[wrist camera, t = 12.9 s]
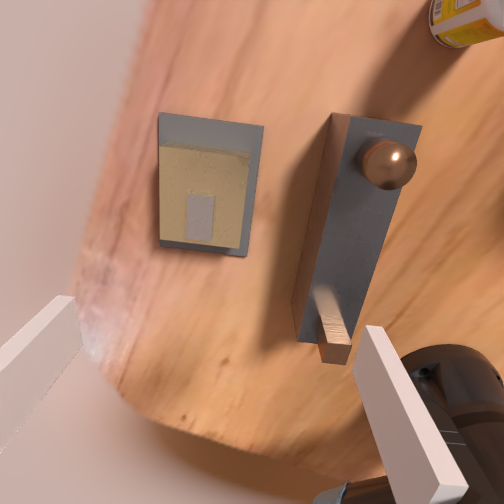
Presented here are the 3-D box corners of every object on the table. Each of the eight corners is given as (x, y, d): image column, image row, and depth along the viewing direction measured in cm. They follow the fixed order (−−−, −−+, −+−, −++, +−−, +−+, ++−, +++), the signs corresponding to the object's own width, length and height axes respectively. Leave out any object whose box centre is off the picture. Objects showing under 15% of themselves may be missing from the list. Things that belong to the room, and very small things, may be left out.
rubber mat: (247, 254, 37) (247, 256, 36) (161, 244, 36) (159, 246, 36) (263, 126, 31) (263, 126, 30) (160, 112, 30) (158, 112, 30)
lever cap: (240, 235, 35) (238, 252, 31) (168, 226, 35) (157, 242, 31) (250, 151, 31) (249, 159, 27) (169, 141, 31) (156, 147, 27)
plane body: (334, 307, 40) (359, 377, 30) (291, 302, 40) (301, 370, 30) (388, 120, 30) (451, 130, 20) (332, 112, 30) (367, 119, 20)
